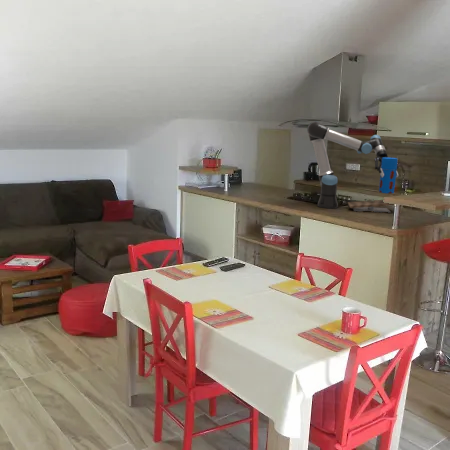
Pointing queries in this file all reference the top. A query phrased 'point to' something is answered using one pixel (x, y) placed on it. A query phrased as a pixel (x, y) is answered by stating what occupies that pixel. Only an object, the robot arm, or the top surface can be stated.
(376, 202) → the levelling board
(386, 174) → the blue tall block
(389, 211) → the tribrach base
